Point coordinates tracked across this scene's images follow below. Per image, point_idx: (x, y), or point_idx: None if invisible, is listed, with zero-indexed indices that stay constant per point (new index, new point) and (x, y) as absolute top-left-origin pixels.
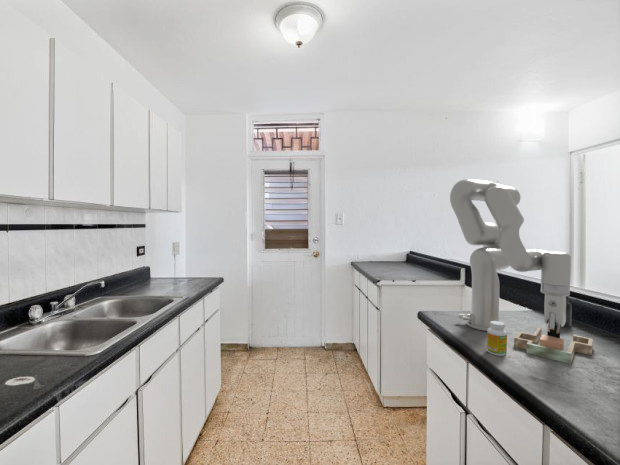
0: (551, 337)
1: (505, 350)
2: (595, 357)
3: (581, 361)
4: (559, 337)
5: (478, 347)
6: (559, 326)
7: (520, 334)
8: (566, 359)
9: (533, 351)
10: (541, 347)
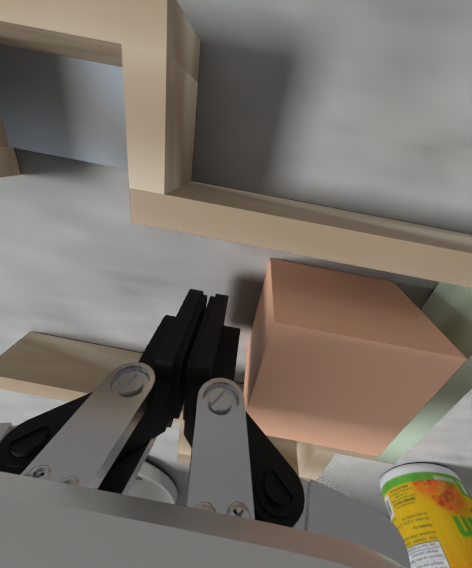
0: (286, 396)
1: (462, 494)
2: (238, 2)
3: (413, 158)
4: (216, 338)
5: (379, 506)
6: (102, 431)
7: None
8: None
9: None
10: (436, 417)
